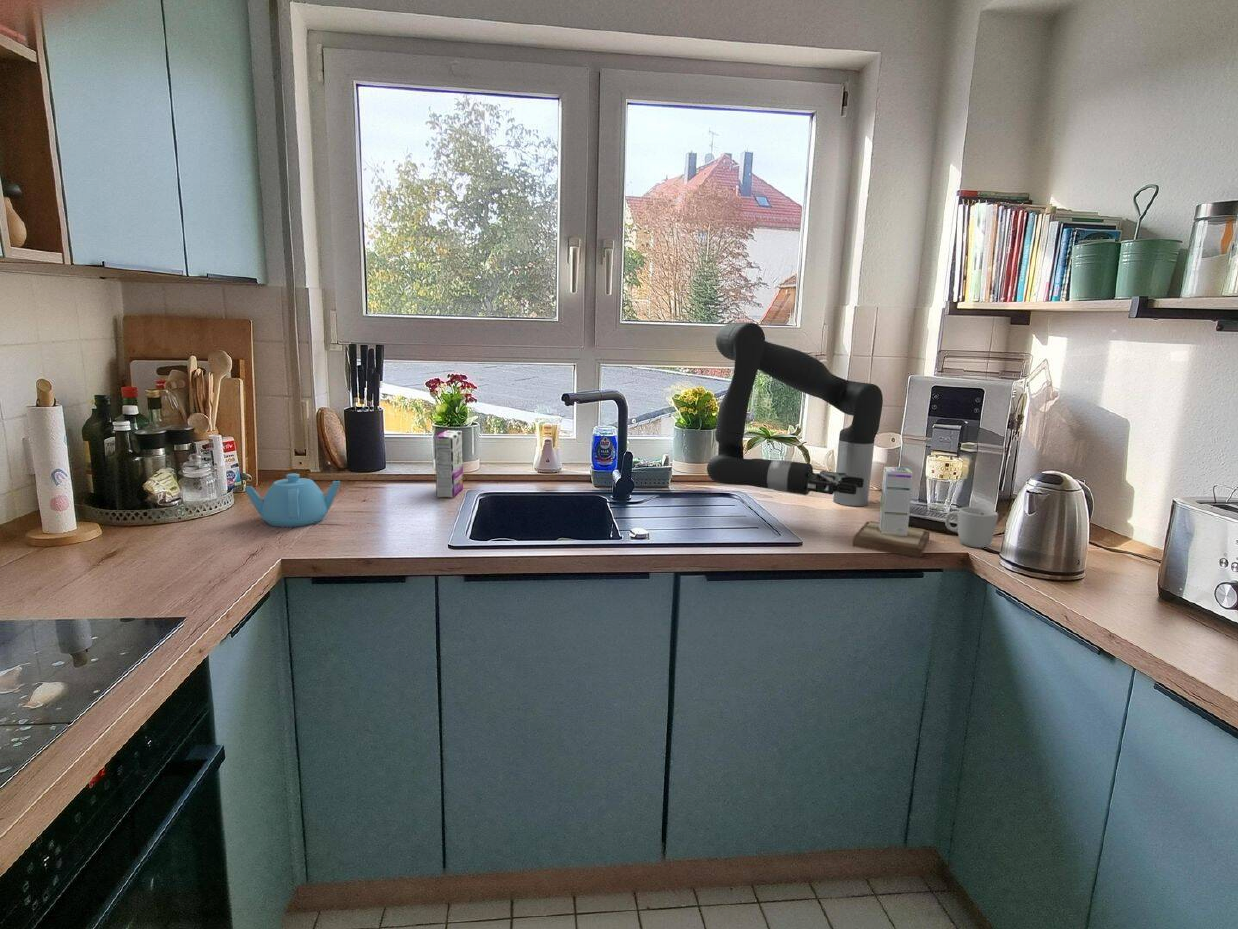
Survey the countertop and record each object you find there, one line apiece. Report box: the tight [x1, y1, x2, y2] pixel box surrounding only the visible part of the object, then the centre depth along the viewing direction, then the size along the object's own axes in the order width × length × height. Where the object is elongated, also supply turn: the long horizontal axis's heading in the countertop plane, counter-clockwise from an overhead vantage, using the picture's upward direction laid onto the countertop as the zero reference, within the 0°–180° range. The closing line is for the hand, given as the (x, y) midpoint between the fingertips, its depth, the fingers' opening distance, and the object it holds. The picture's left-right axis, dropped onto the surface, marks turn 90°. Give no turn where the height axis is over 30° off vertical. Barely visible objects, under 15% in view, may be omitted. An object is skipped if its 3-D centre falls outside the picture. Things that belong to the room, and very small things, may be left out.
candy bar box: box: [434, 429, 464, 499], centre depth 191 cm, size 11×5×16 cm, turn 179°
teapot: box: [243, 472, 341, 528], centre depth 161 cm, size 15×15×11 cm
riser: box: [852, 520, 931, 559], centre depth 160 cm, size 16×14×2 cm
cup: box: [944, 506, 999, 549], centre depth 161 cm, size 11×8×8 cm
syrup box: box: [878, 466, 914, 536], centre depth 159 cm, size 6×6×14 cm
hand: (859, 486), depth 162 cm, fingers open, 8 cm apart
